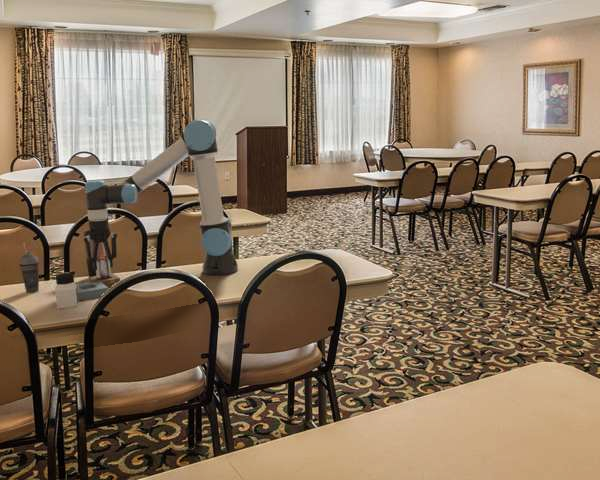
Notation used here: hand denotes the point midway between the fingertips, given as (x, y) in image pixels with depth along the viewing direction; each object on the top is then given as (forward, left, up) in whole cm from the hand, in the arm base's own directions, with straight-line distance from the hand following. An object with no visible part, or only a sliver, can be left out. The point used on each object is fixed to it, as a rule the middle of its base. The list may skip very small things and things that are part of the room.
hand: (103, 276), depth 254 cm
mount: (0, 0, -4) cm, 4 cm away
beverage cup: (+26, -9, -4) cm, 28 cm away
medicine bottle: (+19, +20, -4) cm, 28 cm away
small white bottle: (0, 0, -4) cm, 4 cm away
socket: (+9, +10, -4) cm, 14 cm away
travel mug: (-1, -14, -4) cm, 15 cm away
